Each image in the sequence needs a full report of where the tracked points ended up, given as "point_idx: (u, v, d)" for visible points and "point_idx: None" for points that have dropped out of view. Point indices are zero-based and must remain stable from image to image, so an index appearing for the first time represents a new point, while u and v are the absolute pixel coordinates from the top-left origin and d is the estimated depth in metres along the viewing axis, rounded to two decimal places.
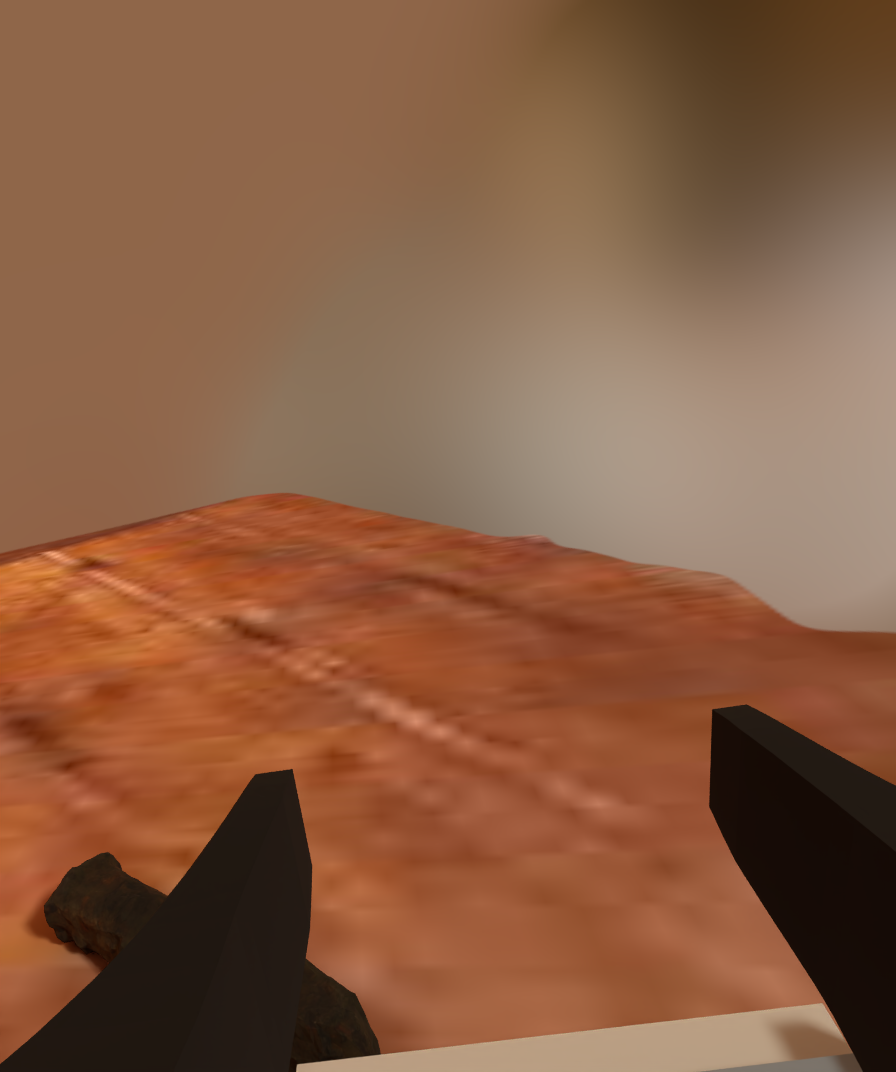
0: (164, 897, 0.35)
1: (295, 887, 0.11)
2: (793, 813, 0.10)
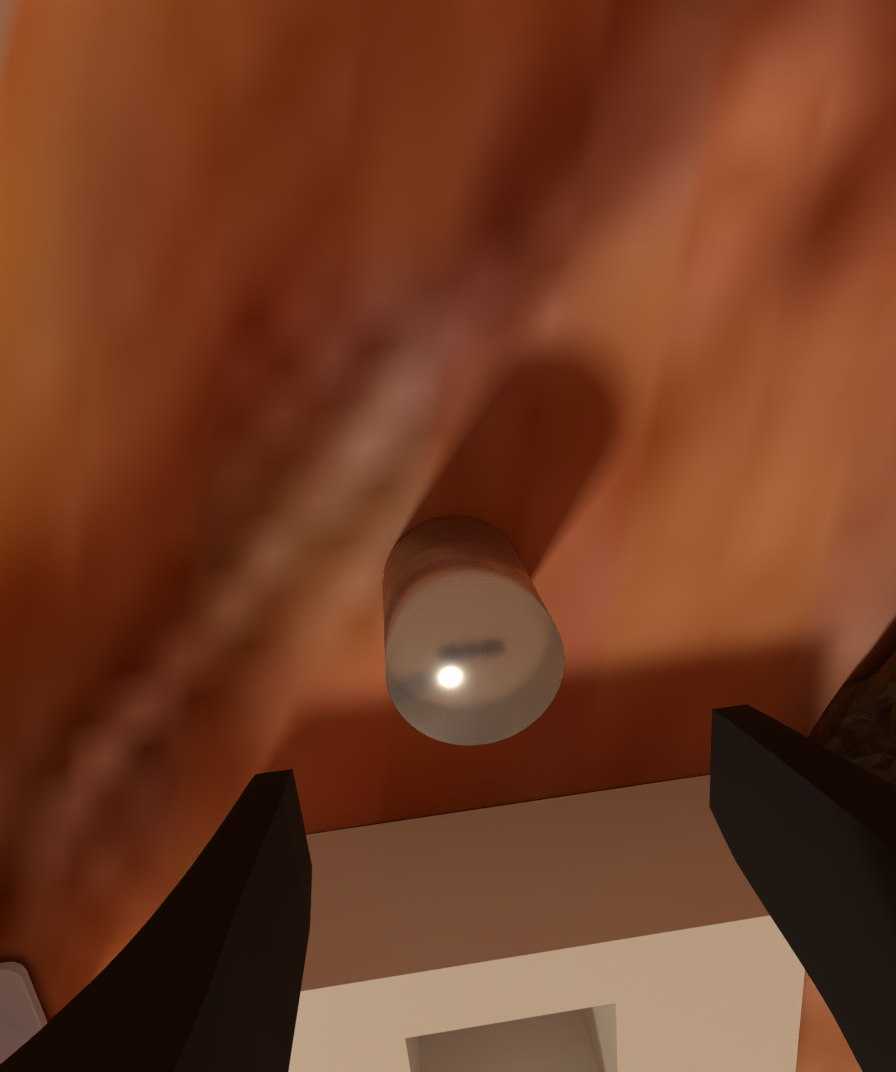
0: None
1: (295, 887, 0.11)
2: (793, 813, 0.10)
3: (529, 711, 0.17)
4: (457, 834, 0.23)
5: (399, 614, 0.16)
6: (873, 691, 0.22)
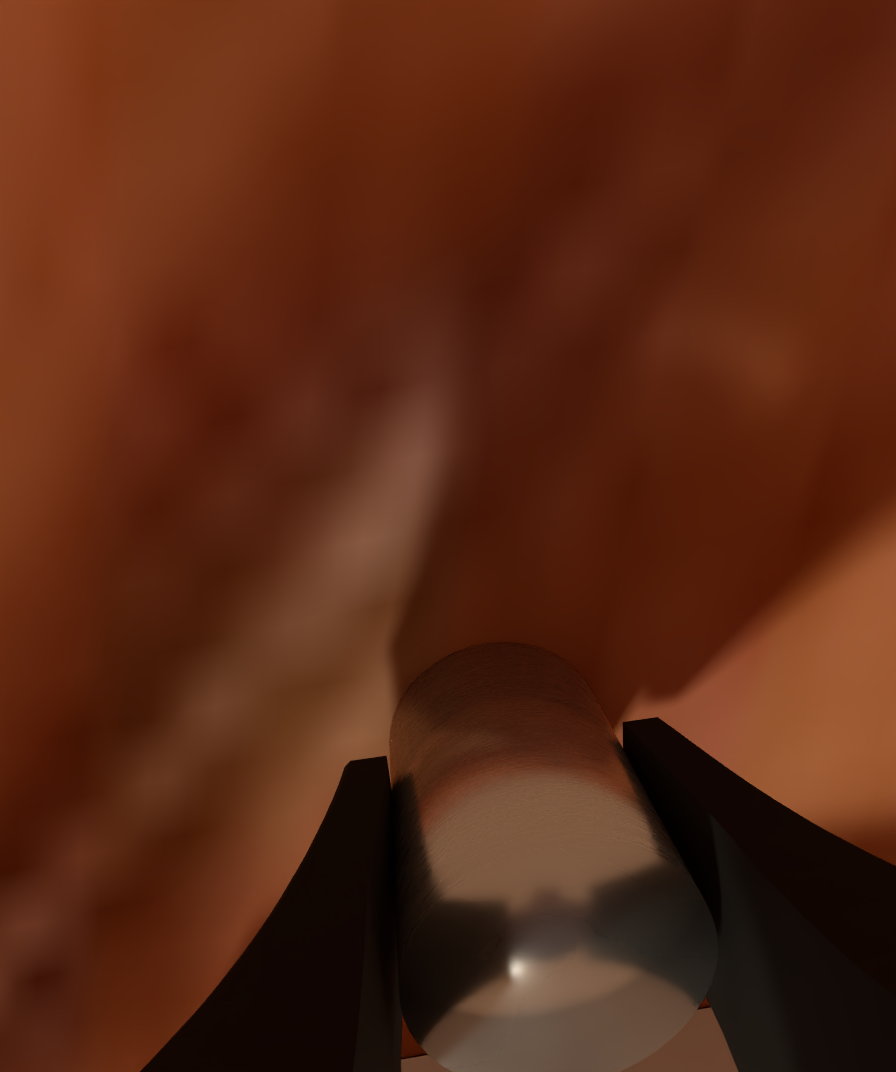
0: None
1: None
2: (685, 829, 0.10)
3: (650, 1035, 0.09)
4: None
5: (422, 877, 0.09)
6: None
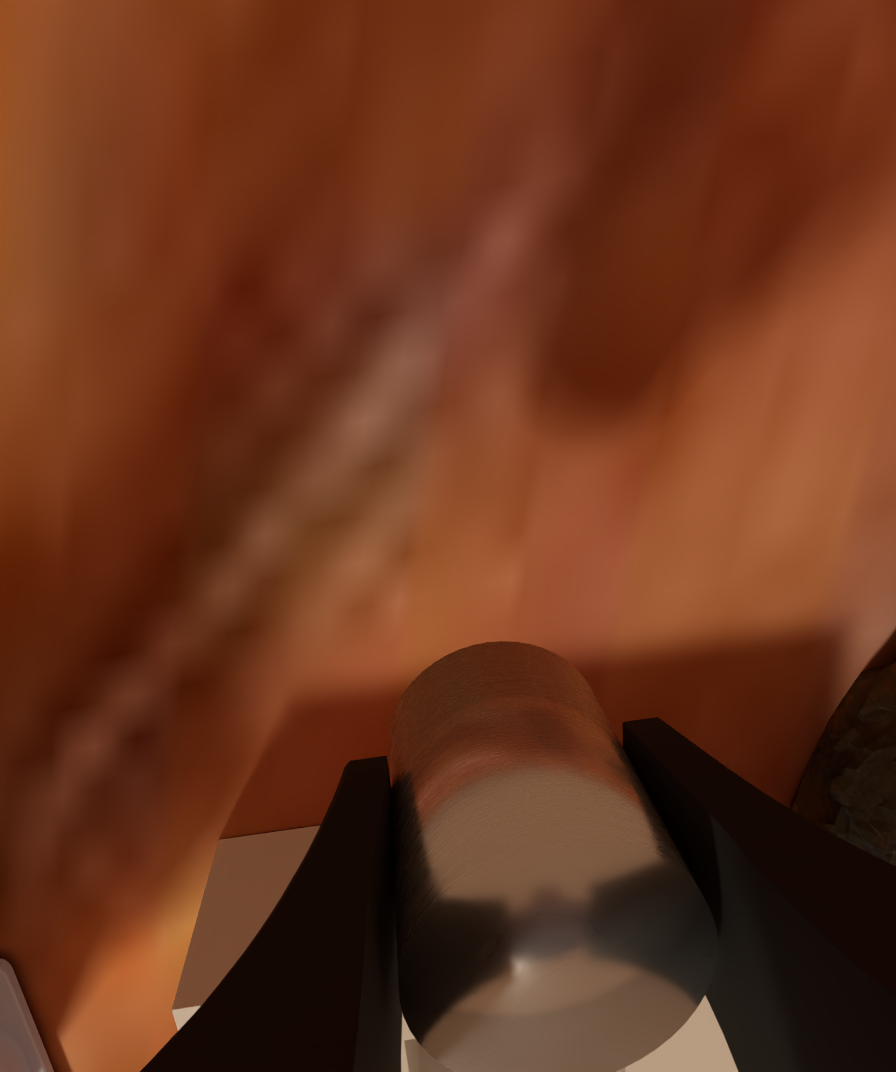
0: None
1: None
2: (685, 829, 0.10)
3: (650, 1035, 0.09)
4: None
5: (422, 875, 0.09)
6: (892, 681, 0.21)
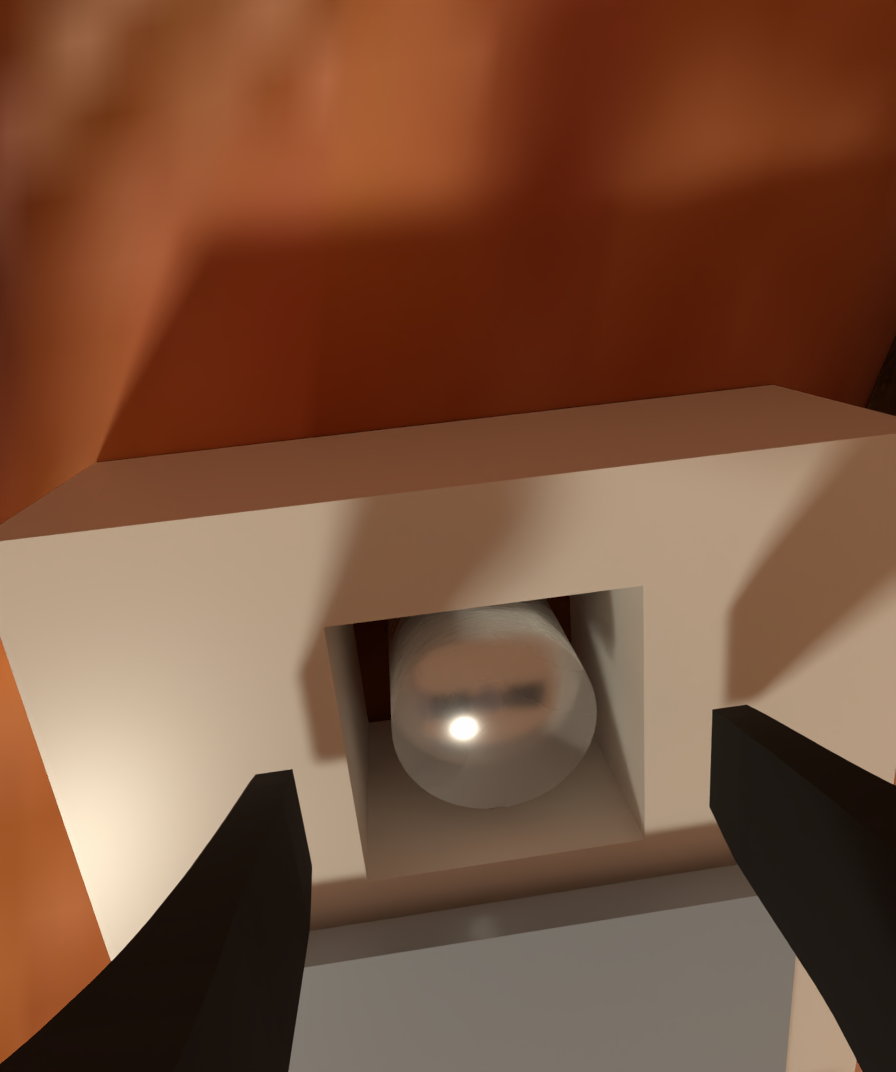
0: None
1: (295, 887, 0.11)
2: (793, 813, 0.10)
3: (556, 771, 0.15)
4: (415, 434, 0.16)
5: (406, 661, 0.14)
6: None
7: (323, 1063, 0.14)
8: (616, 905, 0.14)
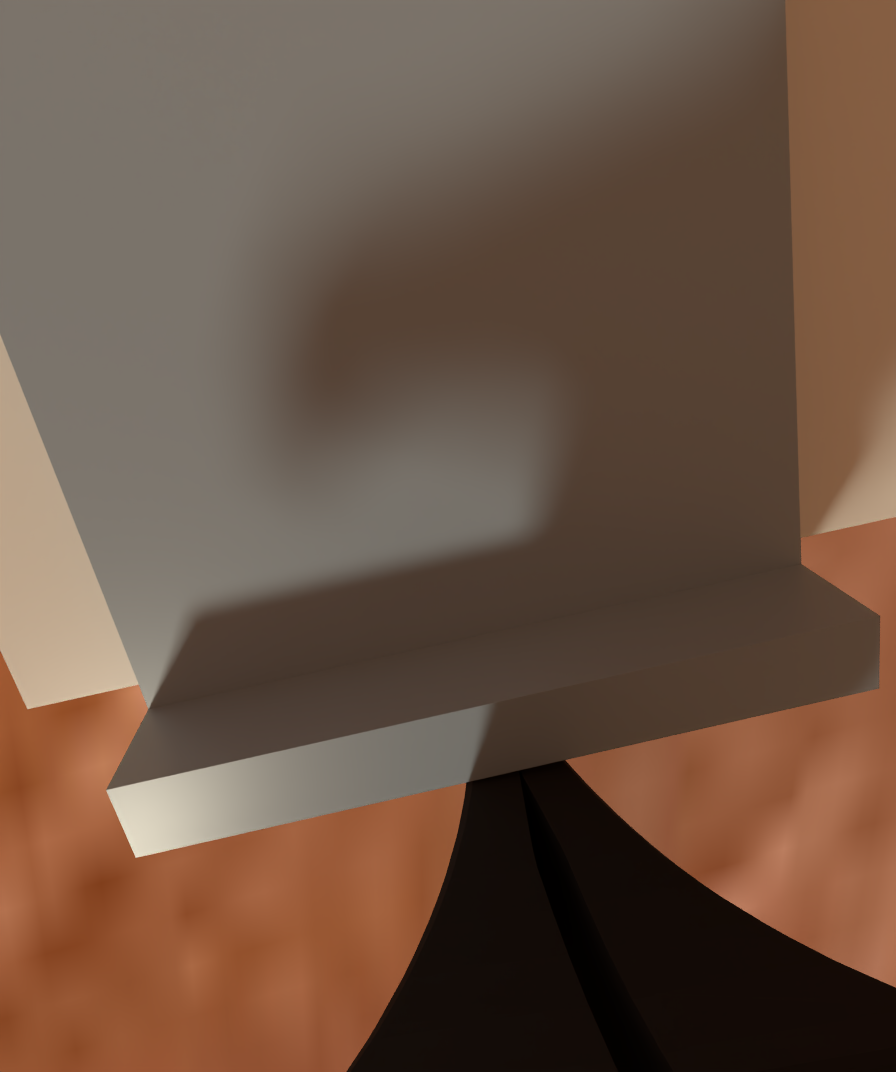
0: None
1: None
2: (544, 851, 0.10)
3: None
4: None
5: None
6: None
7: (69, 214, 0.09)
8: None
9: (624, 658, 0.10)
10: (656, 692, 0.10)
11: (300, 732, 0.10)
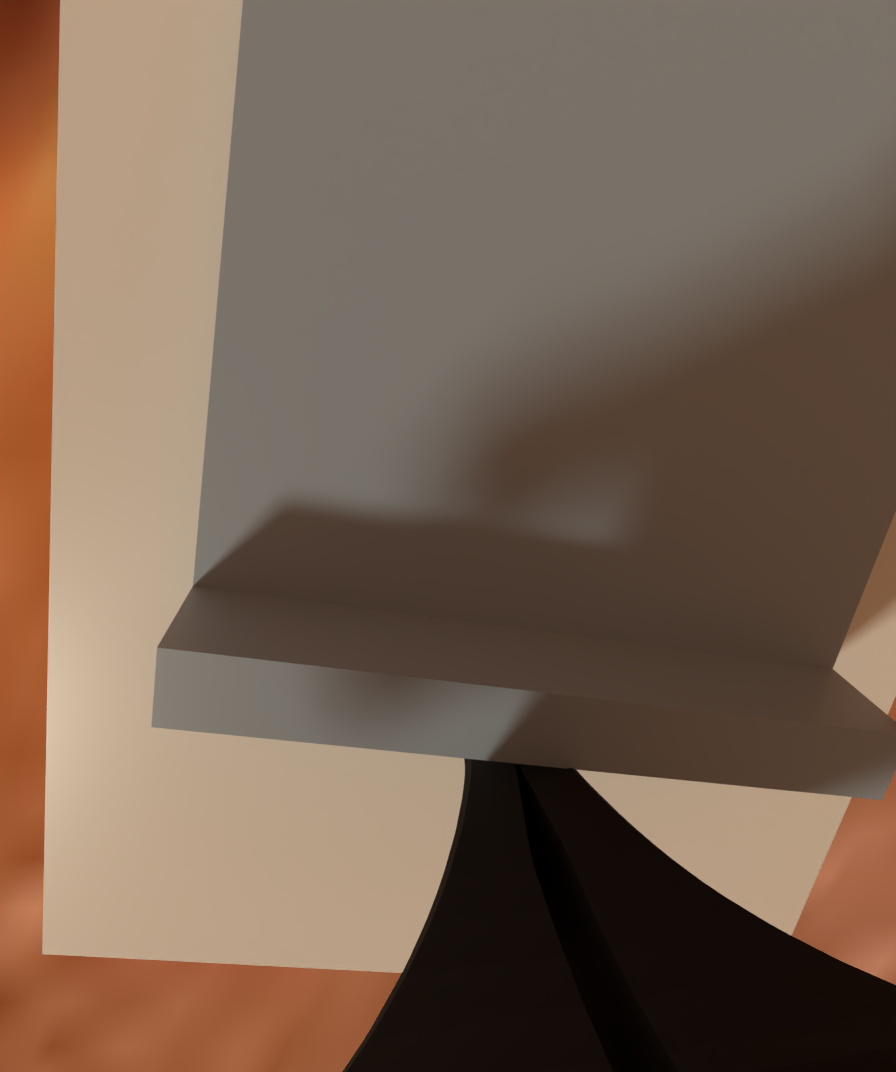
0: None
1: None
2: (546, 851, 0.10)
3: None
4: None
5: None
6: None
7: (352, 78, 0.09)
8: None
9: (682, 695, 0.11)
10: (702, 736, 0.11)
11: (364, 659, 0.10)
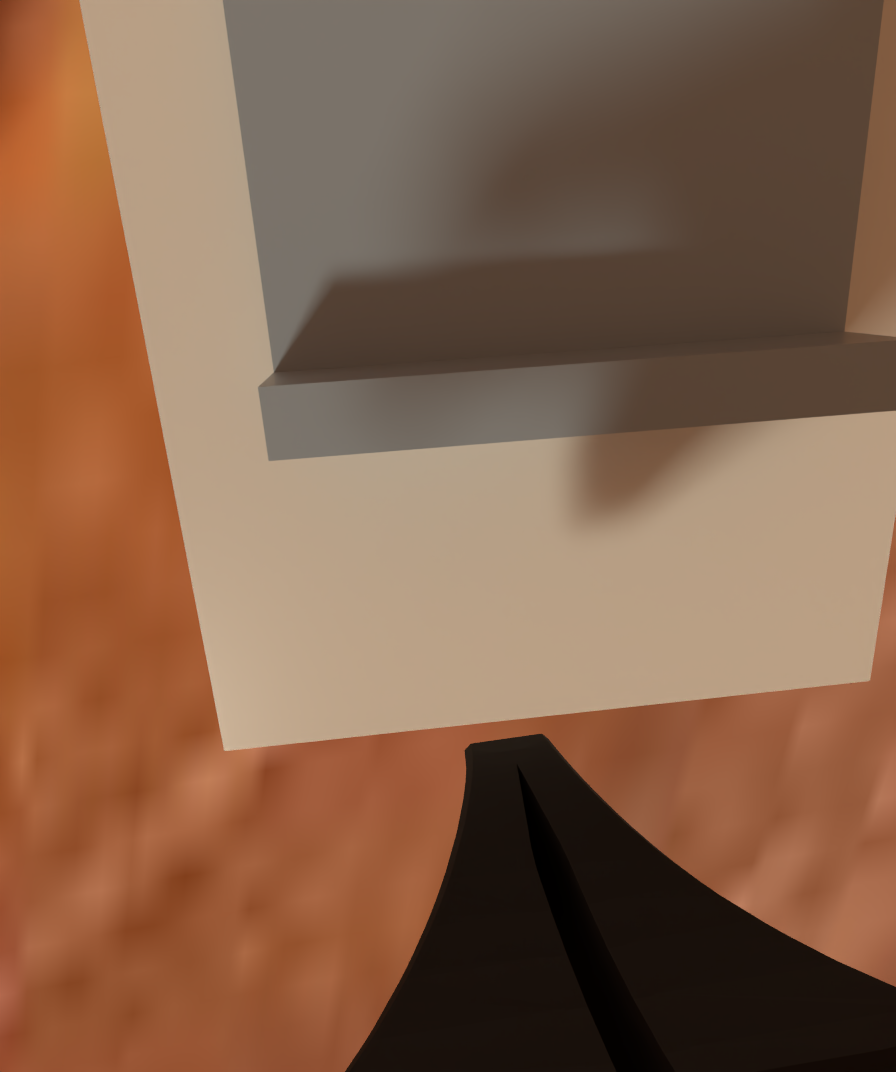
0: None
1: None
2: (544, 851, 0.10)
3: None
4: None
5: None
6: None
7: None
8: None
9: (702, 351, 0.12)
10: (727, 378, 0.12)
11: (424, 372, 0.12)
